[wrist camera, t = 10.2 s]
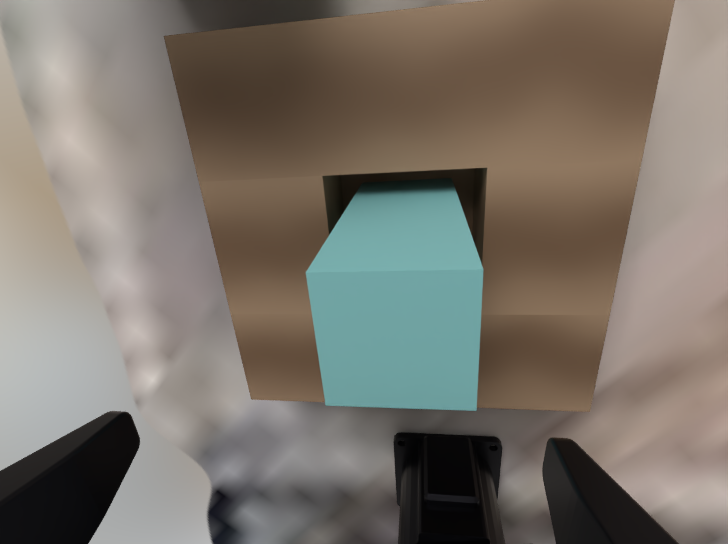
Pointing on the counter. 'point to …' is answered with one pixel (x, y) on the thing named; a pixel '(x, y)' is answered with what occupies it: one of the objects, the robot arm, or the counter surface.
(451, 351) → the teal peg
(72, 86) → the counter surface
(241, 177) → the walnut socket
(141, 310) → the counter surface
